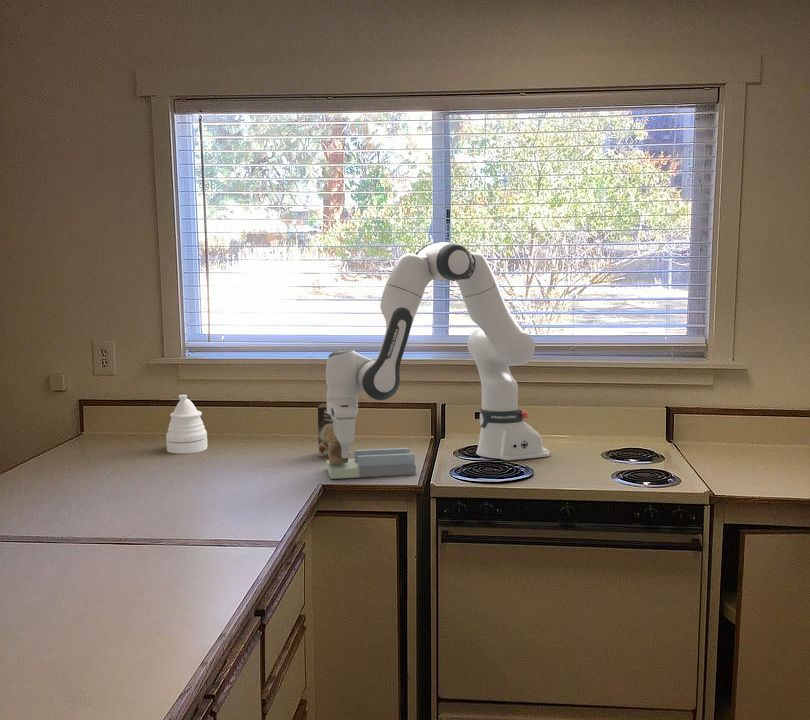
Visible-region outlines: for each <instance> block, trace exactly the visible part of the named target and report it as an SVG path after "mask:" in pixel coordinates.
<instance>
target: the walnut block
mask: <svg viewBox="0 0 810 720" xmlns="http://www.w3.org/2000/svg"><path fill="white" fill-rule="evenodd" d="M328 454H329V457H328V460H329V462H330V463H348V459H349V457H348V458H342V457H341V445H340V443H339V442H328Z"/></svg>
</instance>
